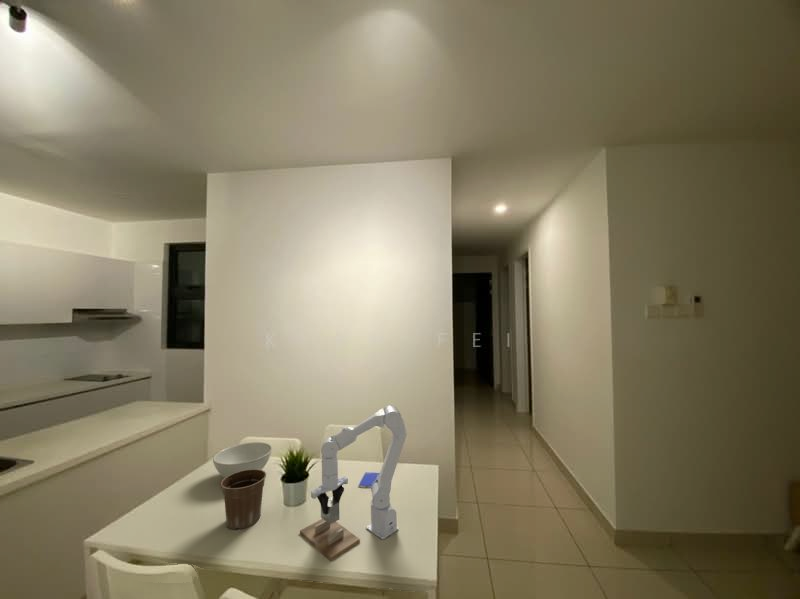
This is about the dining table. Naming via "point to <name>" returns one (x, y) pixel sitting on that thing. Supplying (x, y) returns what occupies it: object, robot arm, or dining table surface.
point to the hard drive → (368, 479)
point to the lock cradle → (329, 538)
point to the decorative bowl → (242, 458)
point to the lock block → (331, 511)
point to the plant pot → (243, 497)
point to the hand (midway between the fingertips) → (330, 510)
